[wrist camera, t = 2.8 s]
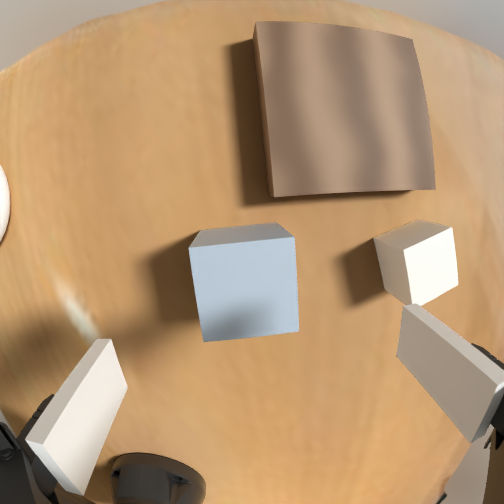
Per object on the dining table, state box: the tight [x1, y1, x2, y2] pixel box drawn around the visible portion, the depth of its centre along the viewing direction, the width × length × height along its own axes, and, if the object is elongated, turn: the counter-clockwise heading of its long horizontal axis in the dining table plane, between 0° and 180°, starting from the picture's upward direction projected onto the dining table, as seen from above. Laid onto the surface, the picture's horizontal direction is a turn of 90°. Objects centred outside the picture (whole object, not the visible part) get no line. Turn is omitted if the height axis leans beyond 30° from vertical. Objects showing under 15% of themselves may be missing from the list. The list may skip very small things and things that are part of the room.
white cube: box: [373, 219, 458, 306], centre depth 26 cm, size 6×6×6 cm
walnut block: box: [253, 21, 436, 197], centre depth 24 cm, size 16×16×4 cm
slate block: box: [189, 223, 299, 342], centre depth 24 cm, size 7×7×8 cm
